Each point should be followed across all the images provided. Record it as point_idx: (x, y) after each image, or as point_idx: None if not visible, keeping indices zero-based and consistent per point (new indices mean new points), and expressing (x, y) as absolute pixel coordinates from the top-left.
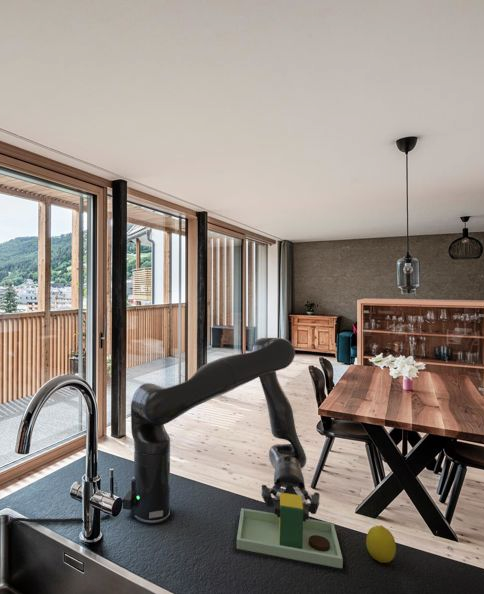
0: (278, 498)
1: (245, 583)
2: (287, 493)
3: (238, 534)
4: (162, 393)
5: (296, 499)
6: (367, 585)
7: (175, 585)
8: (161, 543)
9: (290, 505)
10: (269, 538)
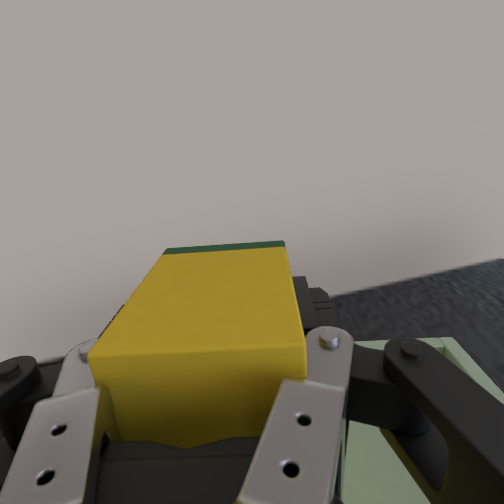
0: (314, 341)
1: (355, 296)
2: (217, 478)
3: (468, 359)
4: None
5: (166, 300)
6: (47, 362)
7: (478, 264)
8: None
9: (227, 253)
10: (351, 472)
